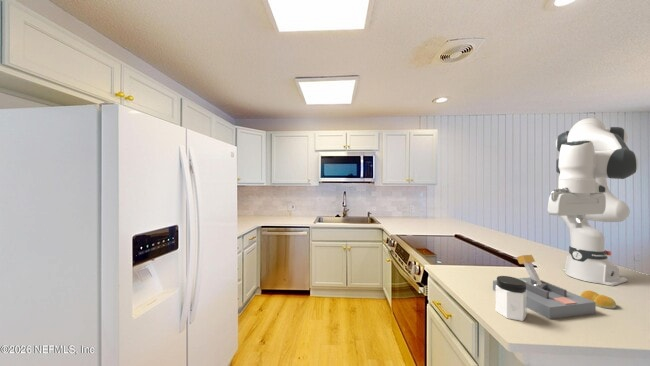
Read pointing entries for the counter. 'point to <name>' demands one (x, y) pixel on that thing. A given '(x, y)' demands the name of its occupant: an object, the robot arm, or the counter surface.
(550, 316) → the switch panel
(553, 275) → the counter surface
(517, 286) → the jar
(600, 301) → the bread roll
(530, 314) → the counter surface
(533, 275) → the breaker lever
